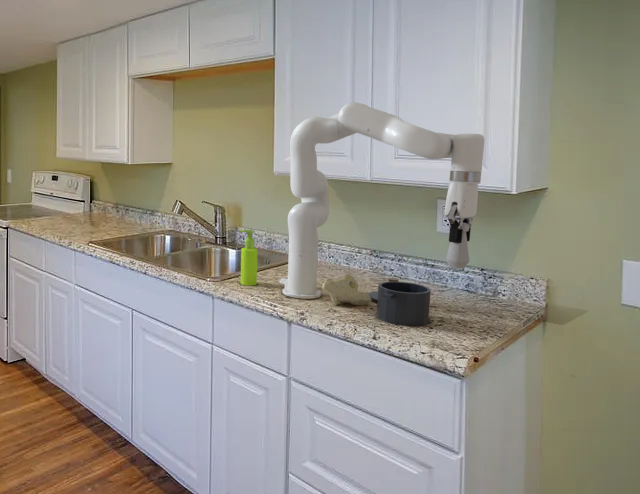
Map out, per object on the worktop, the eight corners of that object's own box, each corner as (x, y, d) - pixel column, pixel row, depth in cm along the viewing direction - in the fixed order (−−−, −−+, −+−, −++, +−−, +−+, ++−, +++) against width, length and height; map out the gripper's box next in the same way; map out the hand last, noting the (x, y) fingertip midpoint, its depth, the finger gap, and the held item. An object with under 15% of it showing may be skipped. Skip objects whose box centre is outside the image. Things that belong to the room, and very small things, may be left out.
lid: (359, 299, 183) (360, 277, 182) (382, 292, 192) (384, 271, 191) (402, 309, 171) (404, 287, 170) (425, 301, 180) (427, 280, 179)
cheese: (361, 304, 183) (325, 273, 187) (376, 292, 179) (339, 261, 182) (347, 329, 173) (309, 296, 176) (363, 317, 168) (323, 283, 171)
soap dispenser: (238, 280, 207) (240, 228, 205) (257, 282, 205) (259, 229, 202) (236, 284, 202) (238, 230, 199) (255, 286, 199) (257, 231, 197)
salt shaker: (470, 267, 159) (474, 222, 157) (466, 270, 155) (470, 224, 153) (447, 264, 163) (451, 220, 161) (443, 267, 158) (447, 222, 157)
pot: (362, 318, 163) (364, 287, 161) (396, 307, 174) (398, 278, 172) (408, 331, 152) (410, 297, 150) (441, 318, 163) (443, 287, 161)
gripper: (464, 176, 163) (458, 236, 166) (437, 178, 153) (431, 242, 156) (492, 177, 157) (486, 240, 160) (466, 179, 147) (459, 246, 150)
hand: (459, 240), depth 158 cm, fingers closed on salt shaker, 4 cm apart
